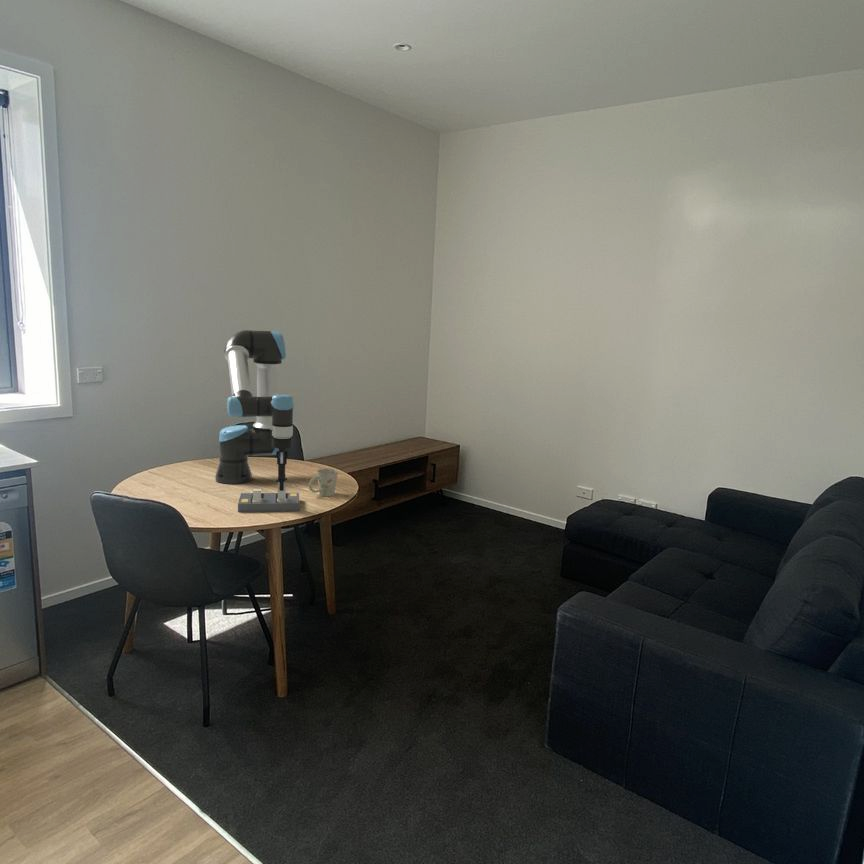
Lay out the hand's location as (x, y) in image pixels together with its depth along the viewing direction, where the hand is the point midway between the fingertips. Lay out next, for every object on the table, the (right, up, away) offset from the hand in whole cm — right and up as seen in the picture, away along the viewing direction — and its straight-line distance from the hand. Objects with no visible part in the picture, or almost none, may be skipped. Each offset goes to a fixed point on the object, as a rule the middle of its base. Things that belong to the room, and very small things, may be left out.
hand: (281, 497), depth 231 cm
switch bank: (-5, -3, +4) cm, 7 cm away
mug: (+12, -1, +21) cm, 24 cm away
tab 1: (-9, -2, 0) cm, 10 cm away
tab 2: (0, -2, +2) cm, 3 cm away
